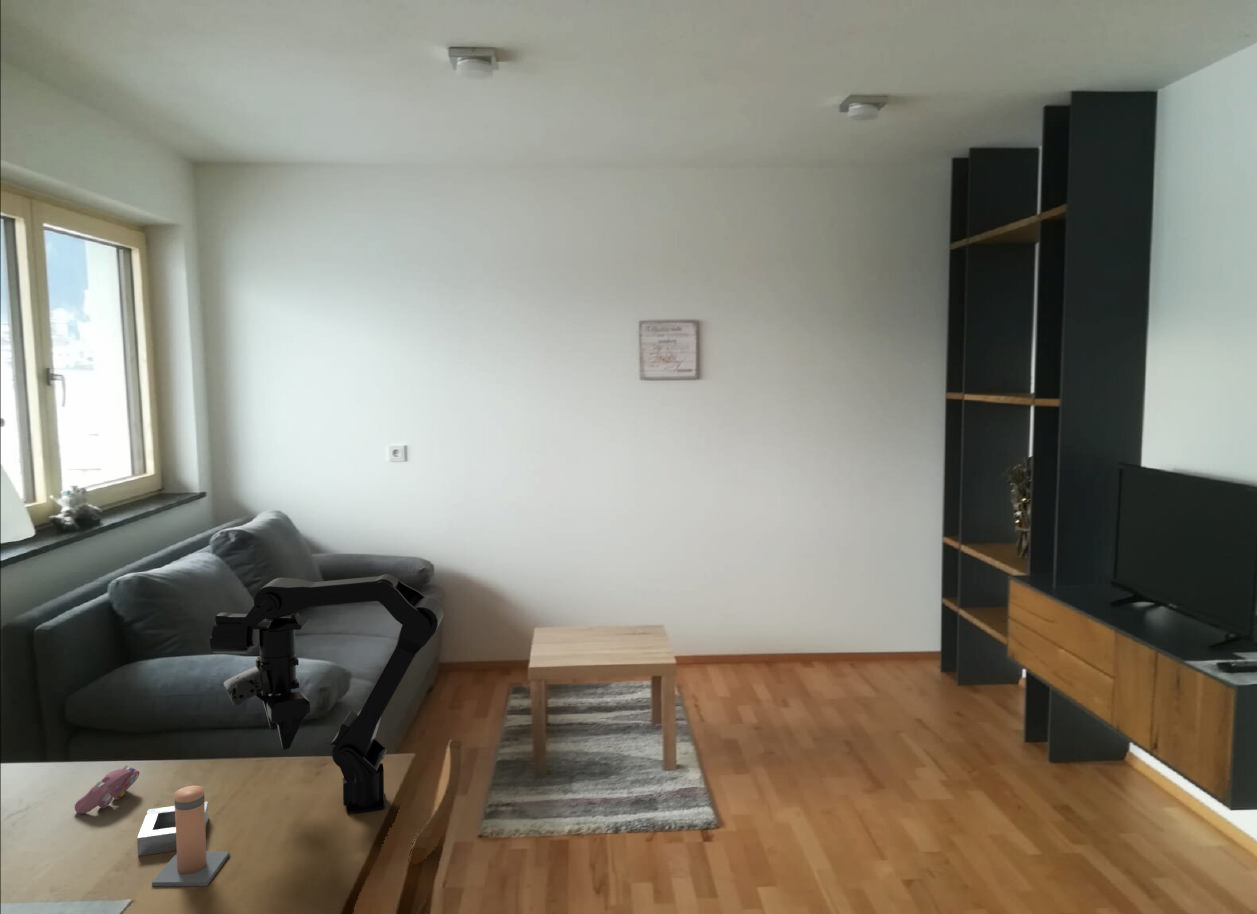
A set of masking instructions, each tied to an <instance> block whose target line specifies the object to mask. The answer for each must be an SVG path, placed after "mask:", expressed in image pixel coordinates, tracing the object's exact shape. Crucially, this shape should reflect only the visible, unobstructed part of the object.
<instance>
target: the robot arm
mask: <svg viewBox="0 0 1257 914" xmlns="http://www.w3.org/2000/svg"><path fill="white" fill-rule="evenodd" d="M372 602H374V603H375V602H378V603H380V604H381V605H382V606H383V607H384V608H385V609H386V610H387V612H388V613H389V614H390V615H391V616H392V617H393V619H395V620H396V621H397V622H398V623H399V624H401V625H402V626H401V628H400V631H399V634H398V638H397V642H396V645H395V648H394V650H393V653H392V654H391V656H390V657H389V659H388V662H387V663H386V665H385V667H384V668H383V670H382V673H381V674H380V675H379V678H378V680H377V681H376V682H375V684H374V686H373V688H372V690H371V692H370V694H369V696H368V698H367V700H366V702H365V703H364V704H363V707H362V708H361V709H360V711H359V712H358V713H355V712H354V711H352V710H350V711H348V712H349V713H348V714H347V715H346V717H345V719H344V720H343V722H342V724H341V726H340V728H339V730H338V731H337V733H336V735H335V736H334V738H333V740H332V741H331V742H330V745H331V746H332V750H331V758H332V760H333V762H334V763H335V765H336V766H338V768H340V771H341V773H342V776H343V777H342V800H343V801H342V804H343V806H344V807H345V808H346V809H345V810H346V811H345V812H346V814H348V815H349V814H355V813H364V812H370V811H377V810H384V809H385V808H386V801H385V799H386V798H385V776H384V775H385V769H384V763H382V761H383V760H384V758H385V755H386V753H387V751H388V750H387V747H386V746H384V745H385V744H383V743H381V742H380V741H379V740H378V739H377V738H376V736H377V732H378V729H379V726H380V723H381V719H382V717H383V714H384V713H385V710H386V708H387V707H388V705H389V704H390V702H391V700H392V698H393V696H394V695H395V692H396V691H397V688H398V687H399V685H400V683H401V681H402V680H403V678H404V676H405V674H406V673H407V671H408V669H409V667H410V666H411V664H412V662H413V660H414V658H415V657H416V656H417V655H418V654H419V653H420V652H421V650H422V649H423V648H424V647H425V646H426V645H427V643H428V642H429V641H430V640H431V639H432V637H433V636H434V635H435V634H436V632H437V630H438V628H439V626H440V624H441V622H442V620H443V617H444V610H443V607H442V604H441V603H440V602H439V601H438V600H436V599H434V598H432V597H427V596H425V595H424V594H423V593H421V592H420V591H419V590H417V589H415V588H414V587H411V586H410V585H408V584H406V583H404V582H402V581H401V580H400V579H398V578H397V577H396V576H394V575H392V574H389V573H385V574H382V575H378V576H377V575H376V576H375V575H374V576H367V577H356V578H354V577H353V578H345V579H335V580H325V581H309V580H306V579H301V578H293V577H292V578H291V577H277V578H275V579H273V580H271V581H269V582H268V583H266V584H265V585H264V586H263V587H261V588H260V589H259V590H257V592H256V593H255V596H254V598H253V607H251V609H250V610H249V612H247V613H231V612H220V613H217V615H216V616H215V617H214V619H215V621H214V622H215V623H214V624H213V628H212V631H211V636H210V637H209V645H210V649H211V651H212V653H214V654H250V653H251V652H252V651H253V649H254V648H257V646H258V645H259V656H257V657H256V658H257V659H255V666H254V667H252V668H248V669H247V670H243V671H242V672H240V673H238V674H235V675H233V676H231V677H229V678H228V679H226V680H225V681H224V682H223V686H224V688H225V690H226V693H227V695H228V697H229V699H230V700H231V702H232V705H233V706H239V705H242V704H243V703H244V702H245V701H247V700H249V699H251V698H253V697H254V696H255V697H256V698H258V699H260V700H261V701H262V703H263V707H264V710H265V711H264V712H265V714H266V717H267V722H268V725H269V728H270V730H271V731H272V730H276V729H277V730H278V734H279V740H280V745H281V748H282V750H283V751H284V750H285V751H286V750H289V749H290V748H291V746H292V744H293V741H294V739H295V738H296V735H297V733H298V731H299V730H300V727H301V725H302V723H303V721H304V719H305V717H307V716H308V714H310V713H311V701H310V700H309V698H308V697H307V695H305V694H304V693H302V692H301V691H300V690H299V691H294V692H293V691H292V690H295V689H299V688H300V682H299V680H298V679H297V666H299V665H300V663H299V658H298V657H297V655H296V631H297V630H298V631H300V630H302V629H303V628H304V627H305V626H306V625H307V624H308V620H307V619H306V618H304V617H303V616H301V614H300V613H299V612H302V611H304V610H307V609H312V608H318V607H329V606H330V607H331V606H341V605H351V604H352V605H353V604H360V603H361V604H363V603H372ZM290 615H291V616H290ZM265 619H267V620H265Z"/></svg>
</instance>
